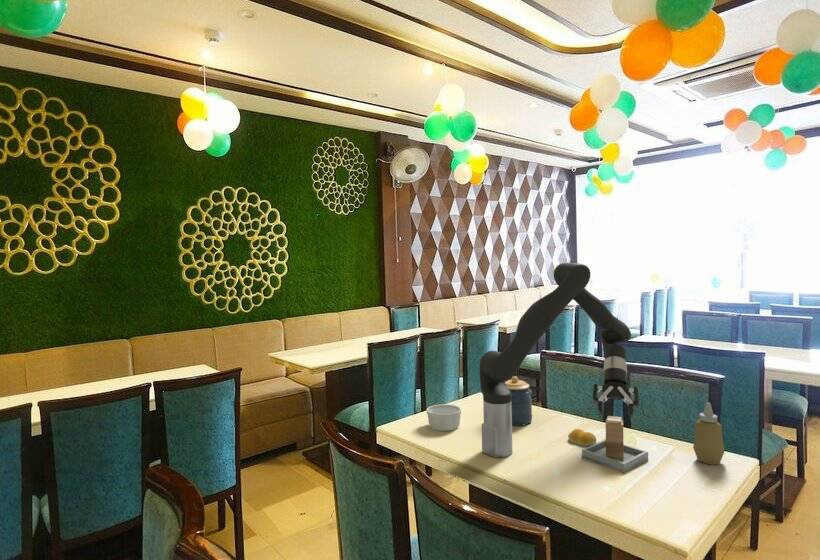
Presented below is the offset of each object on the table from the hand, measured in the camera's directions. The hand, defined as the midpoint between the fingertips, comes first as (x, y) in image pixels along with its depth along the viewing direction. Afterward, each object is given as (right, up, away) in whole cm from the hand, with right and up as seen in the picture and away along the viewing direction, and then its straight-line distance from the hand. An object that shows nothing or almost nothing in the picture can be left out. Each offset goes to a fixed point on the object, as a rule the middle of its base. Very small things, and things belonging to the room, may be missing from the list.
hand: (615, 414), depth 154 cm
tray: (-3, -12, -7) cm, 14 cm away
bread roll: (-8, -12, +8) cm, 17 cm away
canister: (-26, -11, +31) cm, 42 cm away
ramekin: (-55, -12, +26) cm, 62 cm away
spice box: (-3, -11, -7) cm, 13 cm away
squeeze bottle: (+24, -11, -10) cm, 29 cm away
